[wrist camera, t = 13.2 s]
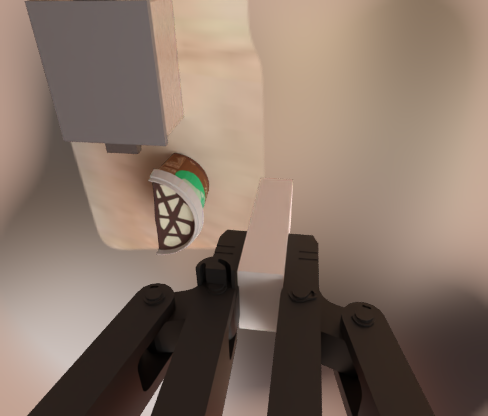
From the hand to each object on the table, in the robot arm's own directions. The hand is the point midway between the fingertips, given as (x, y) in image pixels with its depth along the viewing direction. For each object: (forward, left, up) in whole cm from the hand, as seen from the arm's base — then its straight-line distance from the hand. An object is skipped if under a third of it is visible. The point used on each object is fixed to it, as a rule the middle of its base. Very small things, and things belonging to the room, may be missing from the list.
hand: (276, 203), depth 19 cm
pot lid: (+8, -19, -24) cm, 32 cm away
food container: (+21, -7, -33) cm, 40 cm away
